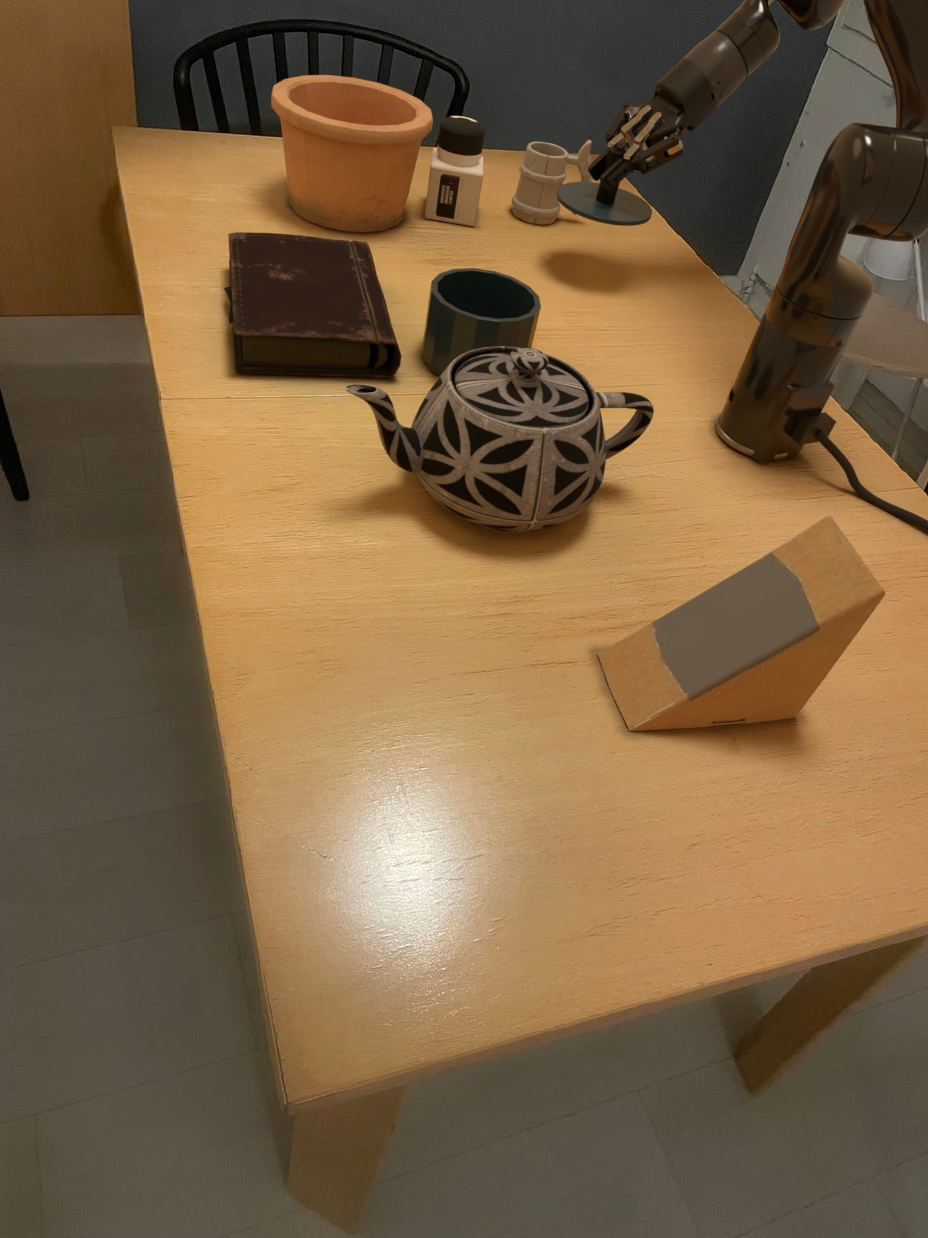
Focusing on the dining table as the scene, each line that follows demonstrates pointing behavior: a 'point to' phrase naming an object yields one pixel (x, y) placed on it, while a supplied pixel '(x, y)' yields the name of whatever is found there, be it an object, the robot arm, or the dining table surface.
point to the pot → (476, 315)
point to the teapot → (508, 437)
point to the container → (456, 172)
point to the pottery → (349, 149)
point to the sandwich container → (747, 639)
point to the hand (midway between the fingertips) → (597, 179)
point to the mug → (545, 180)
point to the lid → (605, 199)
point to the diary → (308, 307)
